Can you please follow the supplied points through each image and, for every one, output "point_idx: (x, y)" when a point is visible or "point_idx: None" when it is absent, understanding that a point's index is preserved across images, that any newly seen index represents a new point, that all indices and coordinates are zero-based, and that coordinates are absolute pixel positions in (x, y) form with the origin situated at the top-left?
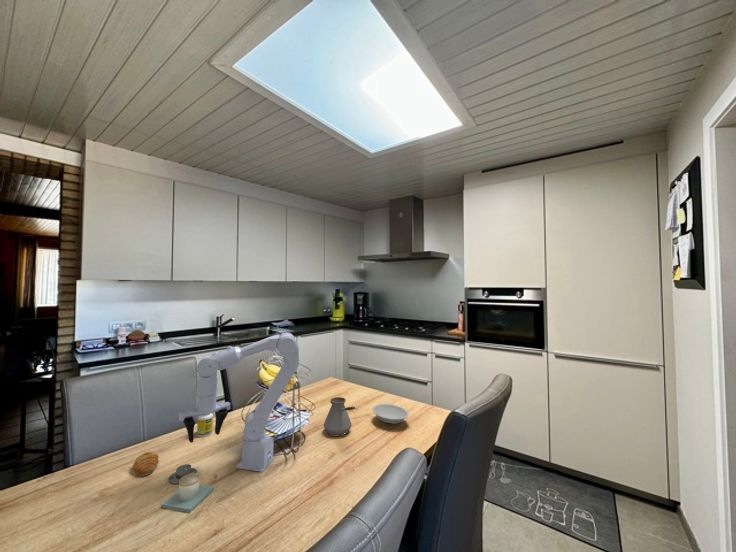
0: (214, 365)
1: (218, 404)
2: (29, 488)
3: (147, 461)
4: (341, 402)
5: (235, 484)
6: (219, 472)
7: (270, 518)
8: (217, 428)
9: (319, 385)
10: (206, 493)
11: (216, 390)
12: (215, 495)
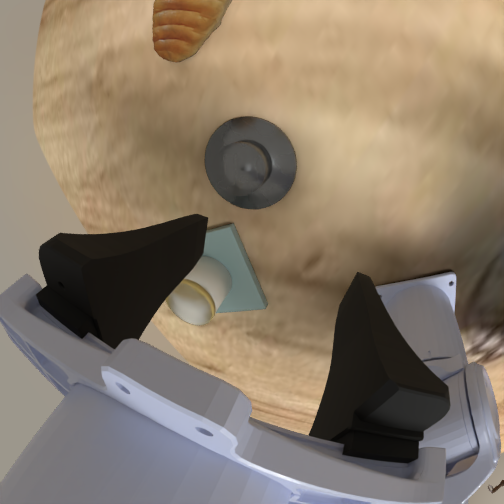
0: None
1: (366, 491)
2: None
3: (171, 21)
4: None
5: (312, 331)
6: (333, 255)
7: (275, 409)
8: (338, 332)
9: None
10: (239, 309)
11: None
12: (258, 318)
